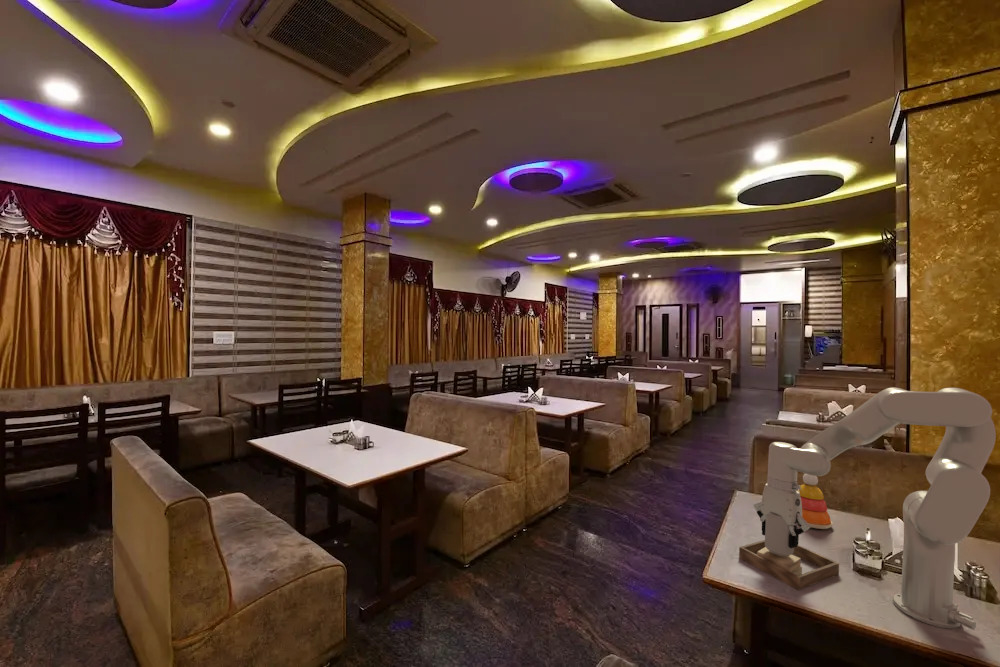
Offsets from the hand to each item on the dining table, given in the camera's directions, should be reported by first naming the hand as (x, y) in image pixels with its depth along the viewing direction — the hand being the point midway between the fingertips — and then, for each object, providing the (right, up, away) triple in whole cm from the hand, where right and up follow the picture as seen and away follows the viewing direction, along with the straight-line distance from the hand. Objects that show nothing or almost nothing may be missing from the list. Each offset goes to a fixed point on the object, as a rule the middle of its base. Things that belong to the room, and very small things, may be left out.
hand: (779, 540), depth 130 cm
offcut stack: (0, -9, 0) cm, 9 cm away
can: (0, -4, 0) cm, 4 cm away
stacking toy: (+34, -10, +33) cm, 48 cm away
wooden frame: (+4, -9, +2) cm, 10 cm away
